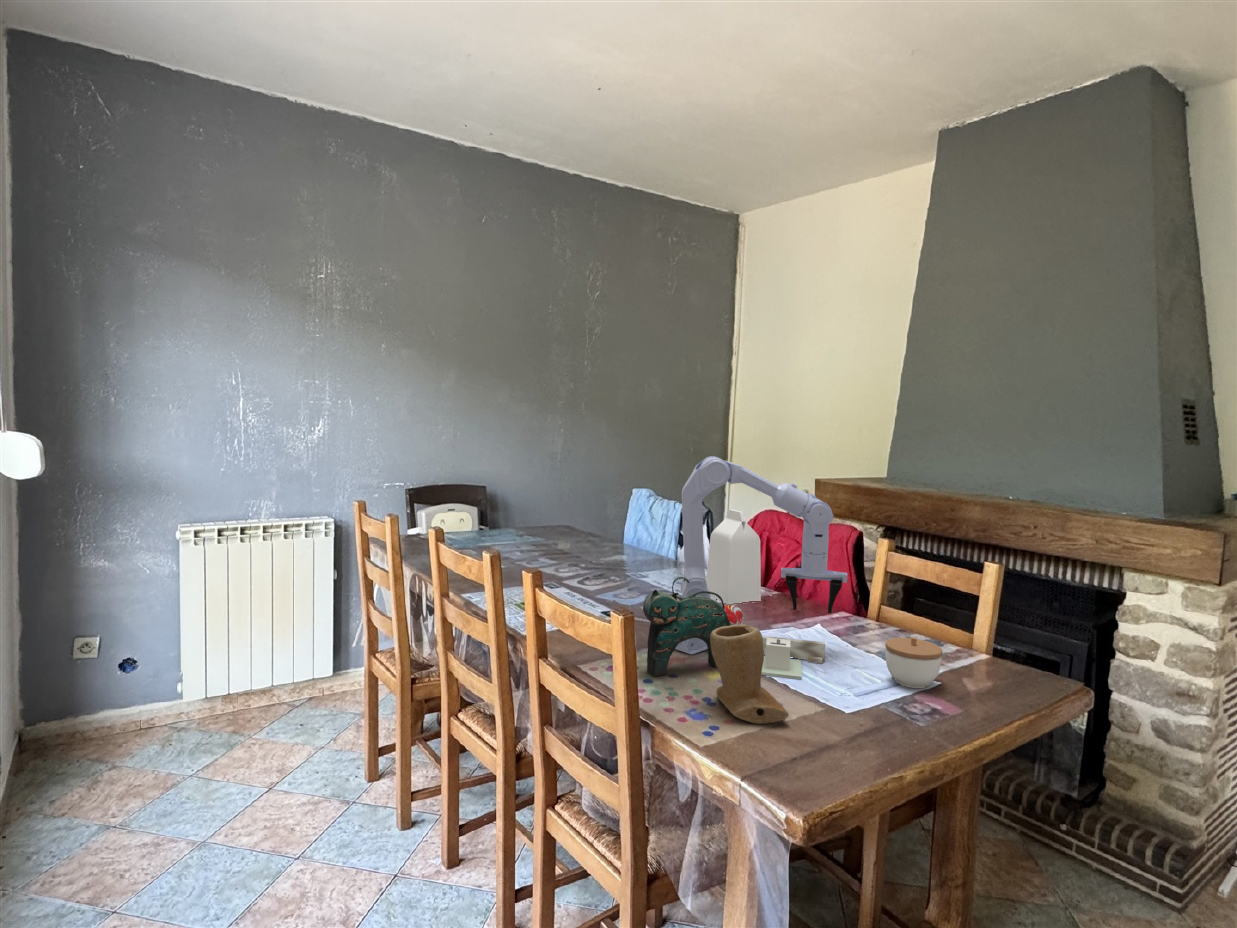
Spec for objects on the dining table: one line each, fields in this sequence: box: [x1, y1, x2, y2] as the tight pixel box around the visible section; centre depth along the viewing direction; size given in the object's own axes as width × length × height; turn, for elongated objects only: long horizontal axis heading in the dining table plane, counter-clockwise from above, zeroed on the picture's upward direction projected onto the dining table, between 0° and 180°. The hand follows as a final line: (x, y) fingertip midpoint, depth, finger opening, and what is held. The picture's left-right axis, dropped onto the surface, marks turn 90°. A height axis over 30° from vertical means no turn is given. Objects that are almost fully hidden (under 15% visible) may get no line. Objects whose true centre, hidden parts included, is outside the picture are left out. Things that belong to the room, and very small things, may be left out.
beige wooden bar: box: [762, 635, 826, 664], centre depth 157 cm, size 20×4×4 cm, turn 76°
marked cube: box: [765, 638, 791, 671], centre depth 149 cm, size 5×5×5 cm
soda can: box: [724, 604, 746, 626], centre depth 167 cm, size 7×7×12 cm
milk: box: [706, 508, 762, 605], centre depth 205 cm, size 12×12×26 cm
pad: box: [761, 656, 803, 680], centre depth 149 cm, size 10×10×1 cm
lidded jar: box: [885, 636, 943, 689], centre depth 143 cm, size 11×11×9 cm
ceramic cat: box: [642, 576, 730, 677], centre depth 147 cm, size 20×6×20 cm, turn 112°
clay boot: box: [710, 624, 790, 725], centre depth 127 cm, size 15×12×15 cm
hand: (812, 610), depth 161 cm, fingers open, 7 cm apart
